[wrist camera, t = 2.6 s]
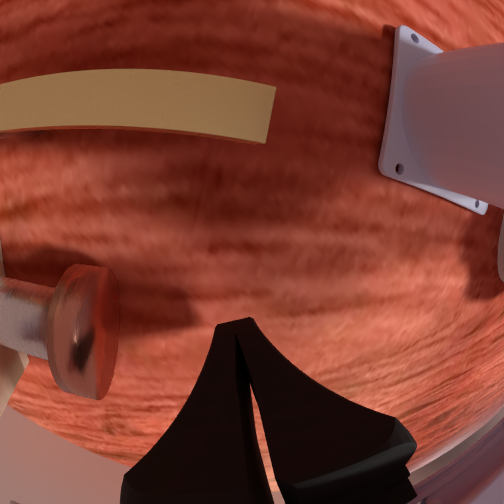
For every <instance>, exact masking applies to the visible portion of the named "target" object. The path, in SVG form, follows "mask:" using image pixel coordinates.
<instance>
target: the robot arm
mask: <svg viewBox="0 0 504 504" xmlns="http://www.w3.org/2000/svg"><path fill="white" fill-rule="evenodd" d="M411 37H412V38H413V40H414V41H413V40H412V38H411ZM397 164H398V166H399V170H398V172H397V173H396V171H395V167H396V165H397ZM378 167H379V171H380V172H381V174H383V175H384V176H387V177H390V178H393V179H395V180H398V181H401V182H404V183H407V184H409V185H412V186H415V187H417V188H420V189H422V190H425V191H428V192H430V193H433V194H435V195H437V196H440V197H442V198H445V199H447V200H449V201H452V202H454V203H456V204H459V205H461V206H463V207H465V208H467V209H470V210H472V211H474V212H476V213H478V214H480V215H484V214H485V213H486V211H487V208H488V204H491V205H493V206H496V207H499V208H501V209H504V43H496V44H488V45H480V46H474V47H468V48H462V49H457V50H451V51H447V52H443V51H442V50H441V49H439V48H438V47H437V46H435V45H434V44H432V43H431V42H430V41H428V40H427V39H425V38H424V37H422V36H421V35H419V34H418V33H416V32H415V31H413V30H412V29H410V28H408V27H407V26H405V25H400V26H398V27H397V28H396V29H395V42H394V57H393V69H392V79H391V88H390V96H389V103H388V111H387V117H386V124H385V130H384V136H383V141H382V147H381V152H380V157H379V162H378ZM250 385H251V387H252V390H253V393H254V396H255V399H256V401H257V404H258V407H259V411H260V415H261V420H262V424H263V428H264V433H265V437H266V441H267V446H268V450H269V454H270V459H271V463H272V467H273V471H274V476H275V479H276V482H277V484H278V487H279V489H280V491H281V494H282V496H283V499H284V501H285V504H418V503H419V502H421V501H422V502H421V503H420V504H504V418H503V419H502V420H500V422H498V423H497V425H495V426H494V427H493V428H492V429H491V430H490V431H489V432H488V433H486V434H485V435H484V436H483V437H482V438H481V439H480V440H478V441H477V442H476V443H475V444H474V445H473V446H471V447H470V448H469V449H467V450H466V451H465V452H464V453H462V454H461V455H459V456H458V457H457V458H455V459H454V460H453V461H451V462H450V463H449V464H447V465H446V466H444V467H443V468H441V469H440V470H438V471H437V472H436V473H434V474H432V475H431V476H429V477H427V478H426V479H424V480H423V481H421V482H419V483H418V484H416V485H414V486H412V484H411V483H410V481H409V479H408V477H409V476H410V473H409V471H408V469H407V467H406V466H405V465H406V464H407V462H408V461H409V460H410V458H411V457H412V455H413V454H414V452H415V450H416V448H417V444H416V441H415V440H414V438H413V437H412V435H411V434H410V432H409V431H408V430H407V429H406V428H405V427H404V426H403V425H402V424H401V422H400V421H399V420H398V419H397V418H396V417H392V416H389V415H386V414H383V413H380V412H377V411H374V410H371V409H369V408H366V407H364V406H361V405H359V404H357V403H354V402H352V401H350V400H348V399H346V398H344V397H342V396H340V395H338V394H336V393H335V392H333V391H331V390H329V389H327V388H325V387H324V386H322V385H321V384H319V383H318V382H316V381H315V380H313V379H312V378H310V377H309V376H307V375H306V374H305V373H303V372H302V371H301V370H299V369H298V368H297V367H296V366H295V365H293V364H292V363H291V362H290V361H289V360H288V359H287V358H285V357H284V356H283V355H282V354H281V353H280V352H279V351H278V350H277V349H276V348H275V347H274V346H273V344H272V343H271V342H270V341H269V340H268V339H267V338H266V337H265V335H264V334H263V333H262V331H261V330H260V329H259V327H258V326H257V324H256V323H255V321H254V319H253V318H251V317H248V318H243V319H239V320H235V321H230V322H226V323H221V324H217V326H216V327H215V331H214V335H213V339H212V343H211V346H210V349H209V352H208V355H207V358H206V360H205V363H204V366H203V368H202V371H201V373H200V375H199V377H198V380H197V382H196V384H195V386H194V388H193V390H192V392H191V394H190V396H189V397H188V399H187V401H186V403H185V404H184V406H183V408H182V409H181V411H180V412H179V414H178V415H177V417H176V418H175V420H174V421H173V423H172V424H171V425H170V427H169V428H168V429H167V431H166V432H165V433H164V434H163V436H162V437H161V438H160V439H159V440H158V442H157V443H156V444H155V445H154V446H153V447H152V449H151V450H150V451H149V452H148V453H147V454H146V455H145V456H144V457H143V458H142V459H141V460H140V461H139V462H138V463H137V464H136V465H134V466H133V467H132V468H131V469H130V470H129V471H128V472H127V473H126V474H125V475H124V478H123V483H122V486H121V495H120V504H274V501H273V497H272V494H271V490H270V487H269V483H268V479H267V476H266V472H265V468H264V464H263V461H262V457H261V453H260V449H259V445H258V440H257V435H256V429H255V421H254V413H253V405H252V397H251V389H250ZM10 504H19V503H17V502H14V501H10Z"/></svg>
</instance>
